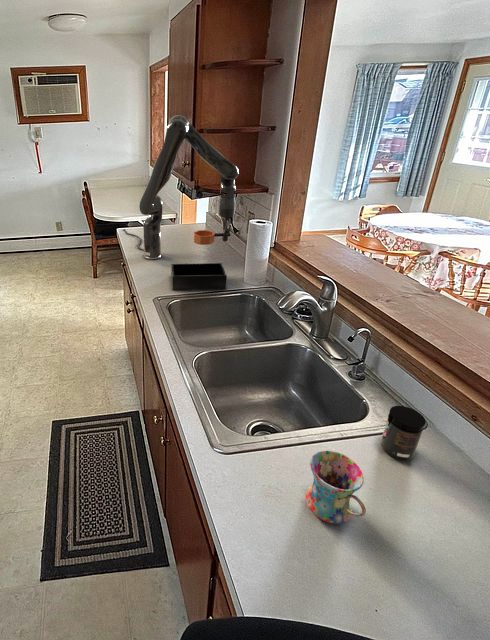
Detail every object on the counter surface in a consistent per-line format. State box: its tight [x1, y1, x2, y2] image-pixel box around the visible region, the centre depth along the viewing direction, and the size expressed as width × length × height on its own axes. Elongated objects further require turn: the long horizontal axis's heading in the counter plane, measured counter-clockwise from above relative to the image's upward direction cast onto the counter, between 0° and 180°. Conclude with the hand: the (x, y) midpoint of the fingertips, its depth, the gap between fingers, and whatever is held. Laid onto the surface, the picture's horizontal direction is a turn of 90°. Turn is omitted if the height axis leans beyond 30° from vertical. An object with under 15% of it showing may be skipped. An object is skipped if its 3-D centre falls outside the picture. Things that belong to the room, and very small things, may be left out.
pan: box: [192, 229, 232, 246], centre depth 195 cm, size 18×10×4 cm, turn 87°
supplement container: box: [380, 405, 427, 461], centre depth 90 cm, size 7×7×10 cm
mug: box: [304, 450, 367, 525], centre depth 77 cm, size 12×9×11 cm
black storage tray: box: [170, 262, 227, 291], centre depth 179 cm, size 15×24×7 cm, turn 86°
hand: (224, 240), depth 196 cm, fingers closed on pan
